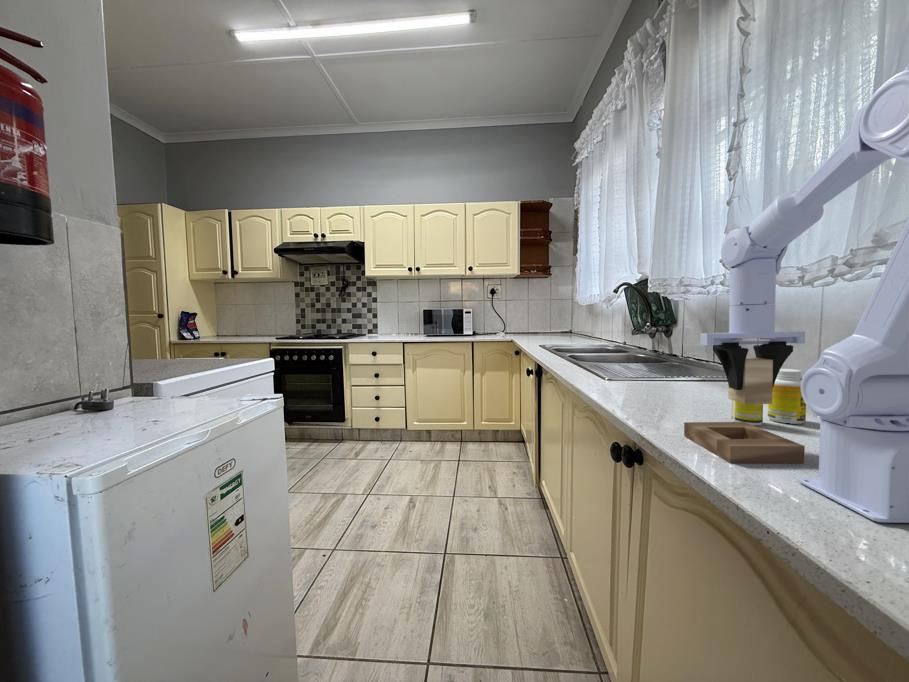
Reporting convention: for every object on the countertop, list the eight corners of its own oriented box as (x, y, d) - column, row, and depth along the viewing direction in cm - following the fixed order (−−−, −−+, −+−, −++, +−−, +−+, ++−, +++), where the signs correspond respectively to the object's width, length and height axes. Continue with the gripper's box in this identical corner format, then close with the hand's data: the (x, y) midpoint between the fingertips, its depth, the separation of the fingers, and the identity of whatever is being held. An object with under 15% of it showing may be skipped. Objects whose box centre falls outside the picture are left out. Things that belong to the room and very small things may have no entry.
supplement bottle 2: (805, 427, 67) (807, 372, 66) (766, 421, 71) (767, 370, 70) (806, 420, 71) (807, 369, 70) (768, 415, 75) (769, 367, 74)
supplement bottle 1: (768, 426, 68) (769, 382, 67) (740, 426, 68) (740, 382, 68) (753, 419, 72) (753, 378, 72) (726, 419, 73) (727, 378, 73)
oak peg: (772, 403, 56) (772, 359, 56) (745, 404, 57) (745, 360, 56) (753, 398, 60) (754, 357, 60) (728, 398, 61) (728, 357, 60)
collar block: (804, 463, 51) (804, 446, 51) (729, 462, 52) (730, 446, 52) (743, 435, 63) (743, 421, 63) (684, 436, 64) (684, 422, 64)
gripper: (780, 304, 61) (778, 383, 61) (690, 307, 62) (689, 384, 63) (818, 302, 54) (816, 391, 54) (715, 305, 55) (714, 392, 56)
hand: (750, 388), depth 58 cm, fingers closed on oak peg, 4 cm apart
